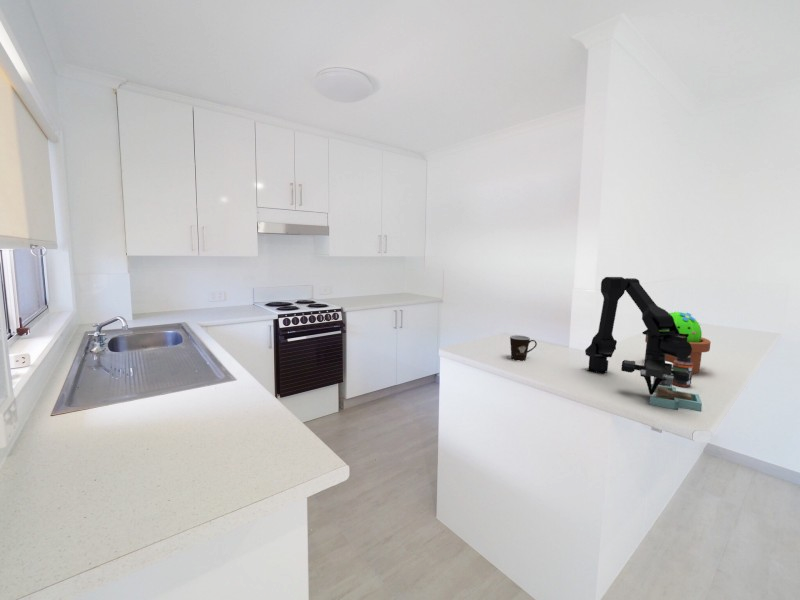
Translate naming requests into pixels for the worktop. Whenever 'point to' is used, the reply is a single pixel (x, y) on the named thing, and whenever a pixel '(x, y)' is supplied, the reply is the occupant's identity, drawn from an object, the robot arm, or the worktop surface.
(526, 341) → the coffee mug
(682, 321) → the potted cactus
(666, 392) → the t block
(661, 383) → the pill bottle
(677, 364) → the supplement bottle
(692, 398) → the teal angular frame
